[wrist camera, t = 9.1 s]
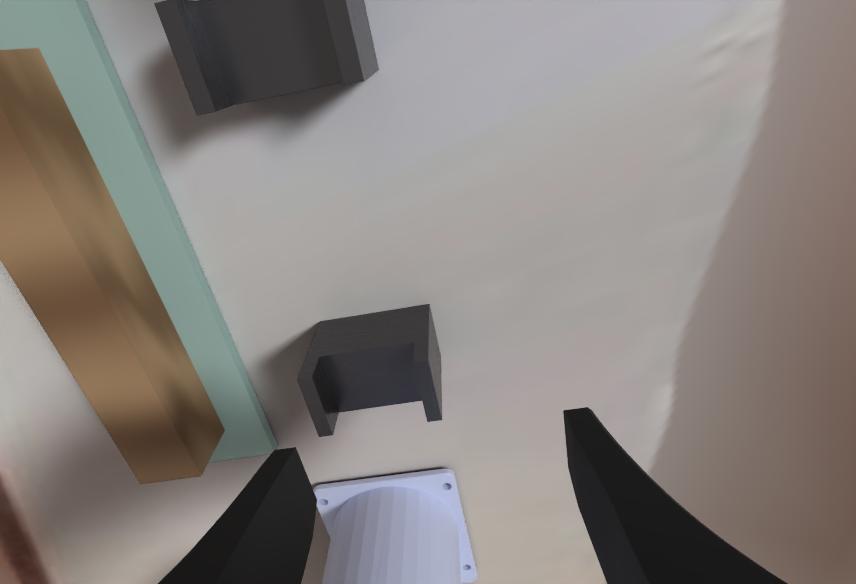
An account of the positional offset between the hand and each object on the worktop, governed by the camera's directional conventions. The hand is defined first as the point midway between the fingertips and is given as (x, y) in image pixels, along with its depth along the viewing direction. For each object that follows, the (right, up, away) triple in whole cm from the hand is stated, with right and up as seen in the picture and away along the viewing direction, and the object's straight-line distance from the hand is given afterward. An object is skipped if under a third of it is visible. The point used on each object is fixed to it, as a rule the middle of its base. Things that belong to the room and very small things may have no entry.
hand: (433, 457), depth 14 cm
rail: (-14, +5, +9) cm, 17 cm away
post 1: (-5, +13, +5) cm, 15 cm away
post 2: (-2, +2, +11) cm, 11 cm away
